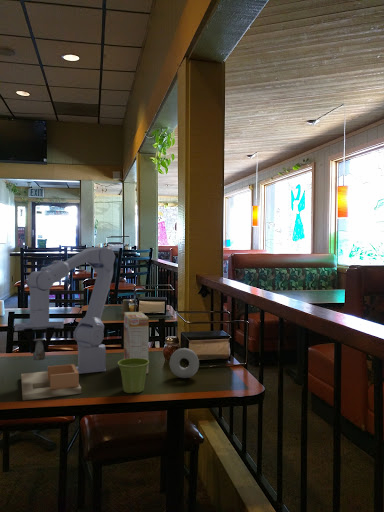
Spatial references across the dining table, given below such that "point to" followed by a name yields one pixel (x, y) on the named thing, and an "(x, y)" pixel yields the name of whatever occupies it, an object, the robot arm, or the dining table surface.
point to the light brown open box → (63, 376)
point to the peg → (39, 349)
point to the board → (42, 387)
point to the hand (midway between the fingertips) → (39, 352)
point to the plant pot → (133, 374)
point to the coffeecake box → (136, 335)
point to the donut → (180, 370)
